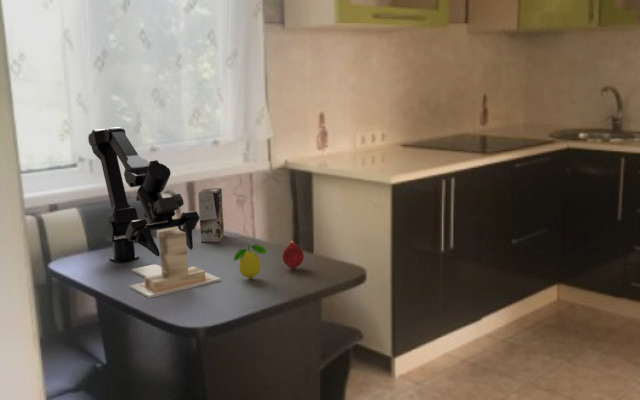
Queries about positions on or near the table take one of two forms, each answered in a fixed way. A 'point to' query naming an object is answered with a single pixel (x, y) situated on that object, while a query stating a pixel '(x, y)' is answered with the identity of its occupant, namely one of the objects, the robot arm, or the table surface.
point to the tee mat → (151, 292)
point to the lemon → (249, 261)
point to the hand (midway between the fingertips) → (175, 252)
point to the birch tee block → (173, 262)
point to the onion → (293, 255)
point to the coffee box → (211, 215)
